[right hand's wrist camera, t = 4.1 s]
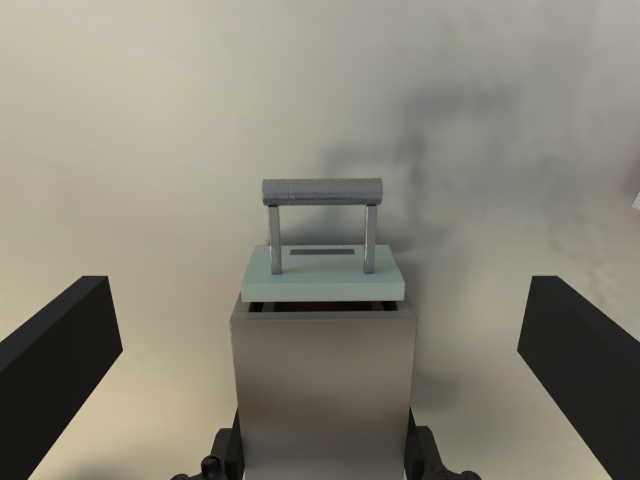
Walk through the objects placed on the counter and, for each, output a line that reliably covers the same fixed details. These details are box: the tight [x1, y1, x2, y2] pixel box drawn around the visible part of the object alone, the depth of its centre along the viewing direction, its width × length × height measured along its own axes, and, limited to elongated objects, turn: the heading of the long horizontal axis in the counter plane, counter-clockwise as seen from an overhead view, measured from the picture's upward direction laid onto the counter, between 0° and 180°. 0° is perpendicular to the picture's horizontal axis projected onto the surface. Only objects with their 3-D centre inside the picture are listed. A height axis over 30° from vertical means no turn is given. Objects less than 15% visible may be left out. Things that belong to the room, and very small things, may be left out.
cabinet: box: [229, 291, 417, 480], centre depth 29 cm, size 14×11×8 cm
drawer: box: [241, 178, 405, 312], centre depth 28 cm, size 19×10×6 cm, turn 0°
